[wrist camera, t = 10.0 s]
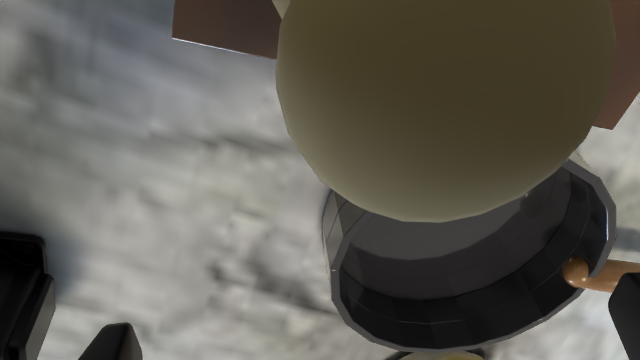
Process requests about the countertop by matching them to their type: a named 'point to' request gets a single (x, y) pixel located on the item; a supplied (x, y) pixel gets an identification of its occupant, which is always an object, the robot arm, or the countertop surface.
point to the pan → (467, 264)
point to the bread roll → (443, 356)
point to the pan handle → (604, 281)
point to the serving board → (264, 20)
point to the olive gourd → (441, 96)
